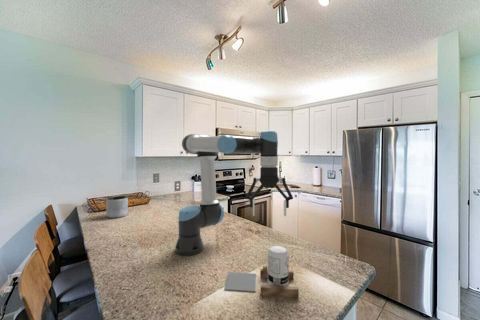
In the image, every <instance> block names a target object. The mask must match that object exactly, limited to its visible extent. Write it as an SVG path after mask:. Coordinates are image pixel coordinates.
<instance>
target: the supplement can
mask: <svg viewBox="0 0 480 320" xmlns="http://www.w3.org/2000/svg"><path fill="white" fill-rule="evenodd" d="M289 255H290V253H289V251H288V248H287V247H286V246H283V245H277V244H276V245H271V246H270V247H269V249H268V250H267V269H268V278H267V285H272V286H287V287H289V279H288V275H289V268H290V267H289V264H290V260H289V259H290V256H289Z"/></svg>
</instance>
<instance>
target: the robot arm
mask: <svg viewBox="0 0 480 320" xmlns="http://www.w3.org/2000/svg"><path fill="white" fill-rule="evenodd" d="M278 142H279V141H278V133H277V132H276V131H275V130H262V131H261V132H260V134H259V136H254V137H249V136H238V135H237V136H236V135H229V134H224V135H215V136H214V135H210V134H207V135H206V134H196V133H194V134H193V133H191V134H188V135H185V137H183V139H182V140H181V147H182V149H183V150H184V151H185V152H186V153H188V154H190V155H197V157H196V158H197V159H198V160H199V163H200V164H199V165H200V183H201V201H200V202H199V205H197V204H193V205H188V206H184V207H181V209H180V210H179V211H178V236H177V237H178V238H177V241H176V244H175V246H174V247H175V249H174V250H175V251H174V252H175V253H176V254H177V255H180V256H185V257H186V256H193V255H197V254H200V253H201V252H202V251H203V250H204V242H203V240H202V237H201V236H202V235H201V229H203V228H207V227H211V226H216V225H219V224H220V223H222V221H223V220H224V215H225V210H224V208H223V205H222V204H221V203H220V201H219V200H218V199H217V183H216V166H215V164H216V163H215V161H216V159H217V157H218V156H217V155H218V154H219V153H223V154H246V155H251V154H254V155H256V154H260V155H259V156H260V157H259V158H260V159H259V161H260V166H261V167H260V168H259V170H260V173H259V175H260V176H259V177H256V176H255V177H253V181H252V184H251V186H250V188H249V190H248V192H247V194H246V196H245V199H246V200H249V207H250V209H251V208H252V216H253V217H255V215H256V214H255V211H256V210H255V204H256V203H255V198H256V196H257V195H258V194H259V193H260V192H261V191H262V190H263V189H264V188H265V189H274V188H275V189H276V190H277V191H278V192H279V194H280V195H281V196H282V197H283V198H284V199H283V215H284V217H287V209H289V208H290V200H293V199H294V196H293V194H292V192H291V190H290V189H289V187H288V185H287V183H286V178H285V177H279V175H278V172H279V171H278V168H279V167H277V166H278V165H279V164H278V161H279V159H278V146H279V145H278V144H279V143H278ZM258 182H260V185H259V187H258V188H257V189H256V190H255V191H254V193H253V194H252V192H253V190H254V188H255V186H256V184H257V183H258ZM279 182H280V183H281V184H282V185H283V187H284V190H285V192H286V193H287V195H288V196H287V195H286V194H285V193H284V192H283V190H282V189H281V187H279V185H277V184H278V183H279ZM251 194H252V195H251Z"/></svg>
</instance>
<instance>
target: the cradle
mask: <svg viewBox="0 0 480 320" xmlns="http://www.w3.org/2000/svg"><path fill="white" fill-rule="evenodd" d="M259 269H260V271H259V272H260V274H259V275H260V277H261V278H262V279H268V265H266V264H265V265H262V268H259ZM288 280H294V270H289V275H288ZM259 293H260V296H265V297H266V296H269V297H270V296H271V297H284V298H295V299H297V298H299V295H300V294H299V286H288V287H287V286H272V285H268V284H260V292H259Z"/></svg>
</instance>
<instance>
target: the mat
mask: <svg viewBox="0 0 480 320" xmlns="http://www.w3.org/2000/svg"><path fill="white" fill-rule="evenodd" d="M256 275H257V273H251V272H250V273H248V272H234V271H233V272H231V271H229V272H228V273H227V277H226V281H225V286H224V289H223V290H224V291H233V292H235V291H236V292H247V293H248V292H249V293H256V281H257V280H256V278H257V277H256Z"/></svg>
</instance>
